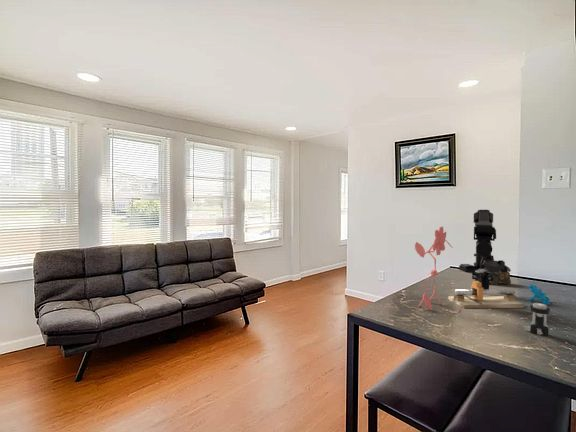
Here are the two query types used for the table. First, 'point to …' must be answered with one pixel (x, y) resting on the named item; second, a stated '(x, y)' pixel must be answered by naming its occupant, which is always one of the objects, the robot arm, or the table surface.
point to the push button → (539, 319)
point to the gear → (539, 295)
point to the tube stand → (486, 299)
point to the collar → (479, 290)
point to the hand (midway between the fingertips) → (482, 287)
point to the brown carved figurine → (501, 277)
